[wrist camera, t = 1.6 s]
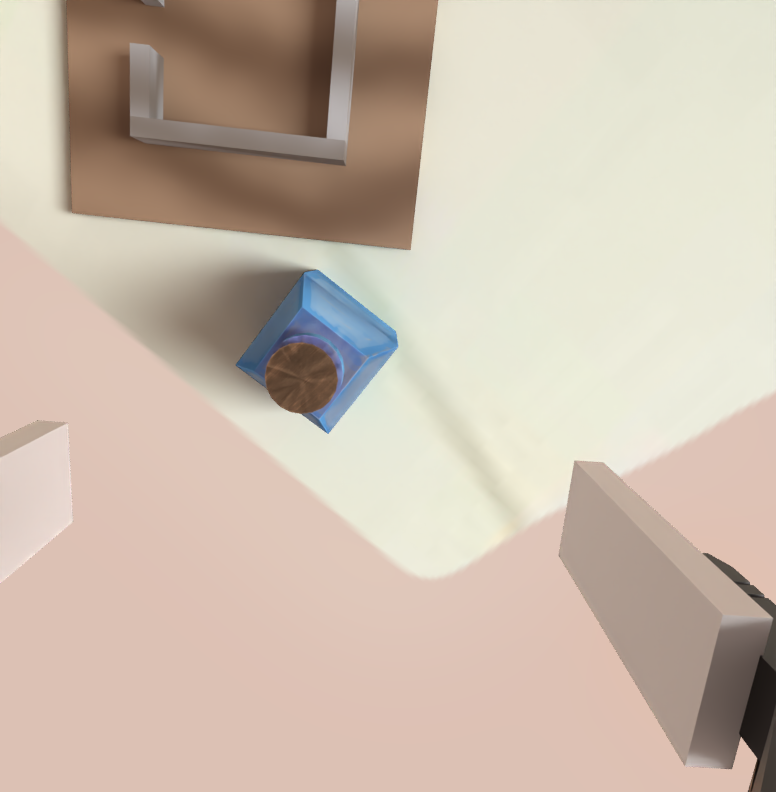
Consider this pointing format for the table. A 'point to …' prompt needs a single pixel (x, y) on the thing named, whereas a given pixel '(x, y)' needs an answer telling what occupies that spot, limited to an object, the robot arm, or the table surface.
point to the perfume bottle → (318, 350)
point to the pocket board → (251, 114)
